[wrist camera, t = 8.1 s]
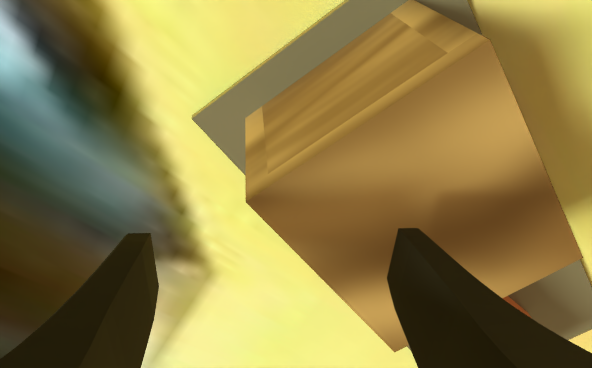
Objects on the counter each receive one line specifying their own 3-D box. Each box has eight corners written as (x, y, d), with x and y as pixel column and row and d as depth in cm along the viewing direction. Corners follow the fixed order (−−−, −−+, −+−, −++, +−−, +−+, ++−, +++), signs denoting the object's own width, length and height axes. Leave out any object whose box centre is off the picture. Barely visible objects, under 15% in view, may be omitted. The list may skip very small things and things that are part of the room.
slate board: (192, 115, 20) (191, 118, 20) (434, -67, 17) (438, -67, 17) (449, 388, 36) (451, 393, 35) (603, 317, 32) (607, 322, 32)
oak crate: (245, 117, 20) (245, 201, 14) (410, -2, 18) (490, 39, 12) (360, 251, 26) (394, 352, 20) (498, 171, 24) (582, 257, 18)
